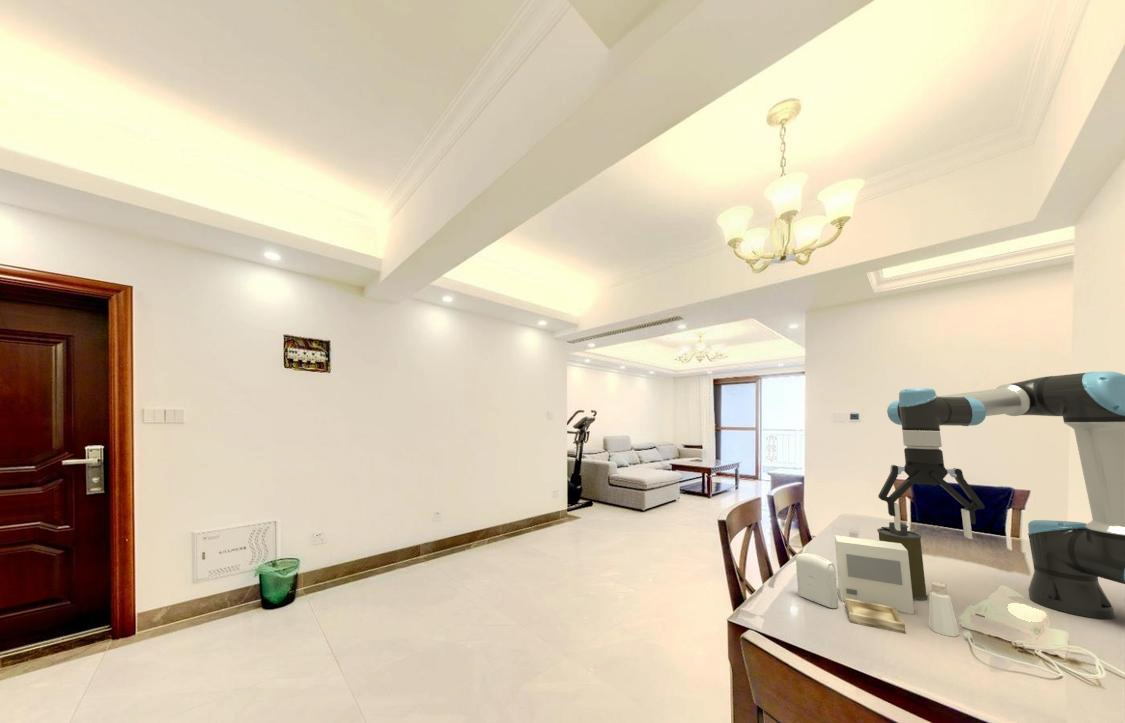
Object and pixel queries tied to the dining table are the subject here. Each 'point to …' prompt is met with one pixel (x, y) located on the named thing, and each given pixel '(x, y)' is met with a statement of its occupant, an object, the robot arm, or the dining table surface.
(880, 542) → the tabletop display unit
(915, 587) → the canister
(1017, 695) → the dining table surface
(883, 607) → the tray
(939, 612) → the pepper shaker
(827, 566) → the photo printer
